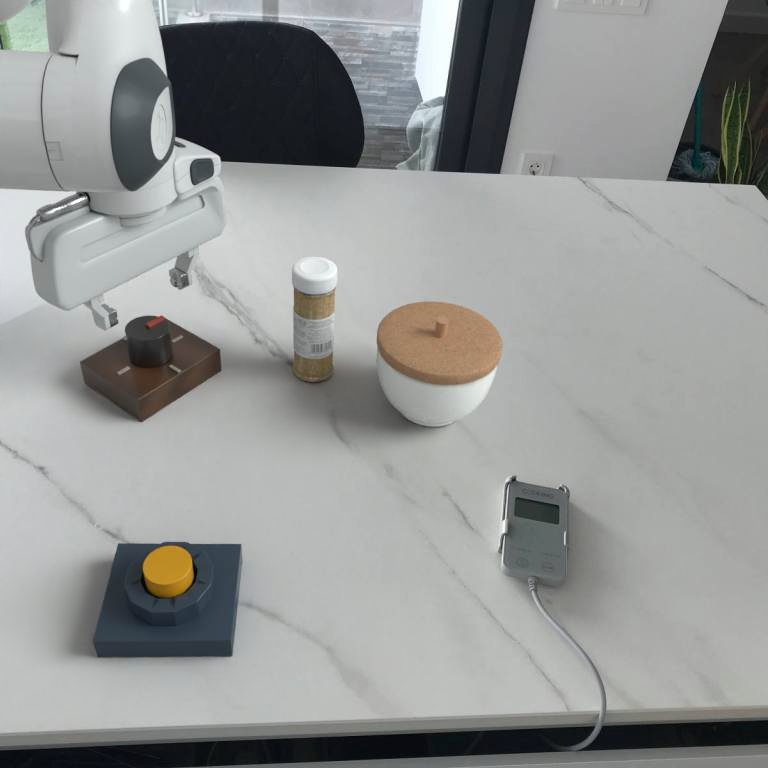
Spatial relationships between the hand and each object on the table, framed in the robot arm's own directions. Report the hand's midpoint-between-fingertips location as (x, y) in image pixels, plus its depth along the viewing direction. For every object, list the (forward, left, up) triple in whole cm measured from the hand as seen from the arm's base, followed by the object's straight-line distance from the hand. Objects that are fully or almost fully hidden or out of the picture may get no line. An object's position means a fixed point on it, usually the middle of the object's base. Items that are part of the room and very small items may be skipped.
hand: (145, 304), depth 77 cm
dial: (0, 0, -6) cm, 6 cm away
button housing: (-18, -23, -9) cm, 31 cm away
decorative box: (+16, -25, -9) cm, 31 cm away
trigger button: (-18, -23, -6) cm, 30 cm away
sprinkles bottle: (+12, -12, -9) cm, 19 cm away
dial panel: (0, 0, -9) cm, 9 cm away
